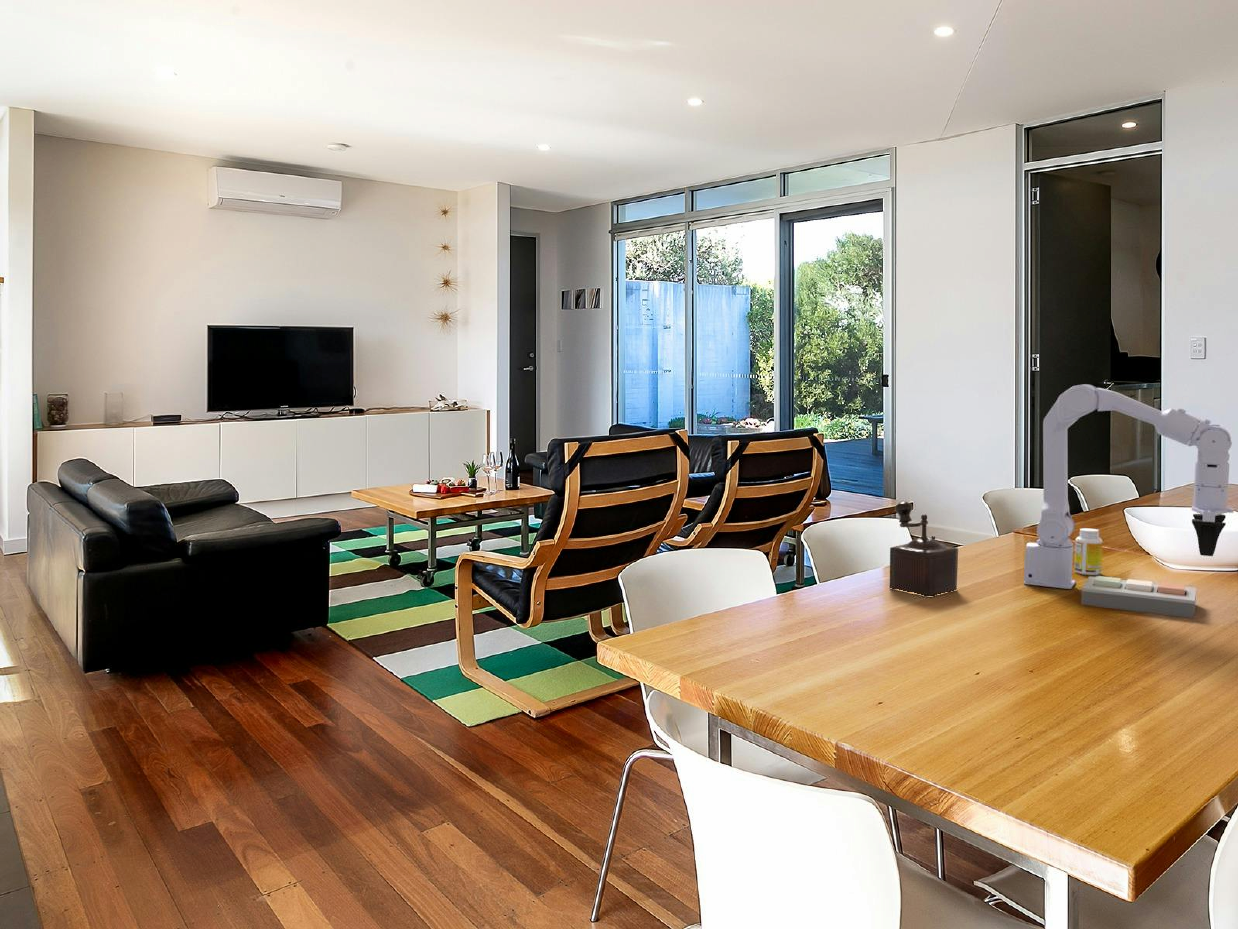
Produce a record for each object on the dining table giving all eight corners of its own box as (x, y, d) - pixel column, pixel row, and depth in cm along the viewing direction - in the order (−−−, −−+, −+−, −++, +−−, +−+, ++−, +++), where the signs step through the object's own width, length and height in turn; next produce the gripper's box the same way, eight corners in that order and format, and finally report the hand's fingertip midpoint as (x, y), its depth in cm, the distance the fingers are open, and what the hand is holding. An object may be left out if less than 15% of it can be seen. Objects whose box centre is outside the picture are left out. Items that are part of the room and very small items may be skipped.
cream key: (1125, 594, 182) (1125, 583, 182) (1127, 589, 185) (1127, 579, 185) (1150, 597, 179) (1151, 586, 179) (1152, 592, 183) (1152, 581, 183)
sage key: (1093, 590, 185) (1094, 580, 185) (1096, 586, 188) (1096, 575, 188) (1118, 593, 182) (1119, 582, 182) (1120, 588, 186) (1121, 578, 186)
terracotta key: (1157, 597, 179) (1158, 586, 178) (1159, 593, 182) (1159, 582, 182) (1184, 600, 176) (1184, 589, 176) (1184, 596, 180) (1185, 585, 180)
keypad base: (1081, 604, 183) (1081, 588, 183) (1088, 592, 193) (1089, 576, 193) (1193, 618, 172) (1194, 600, 172) (1195, 604, 182) (1196, 587, 182)
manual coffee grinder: (960, 590, 195) (963, 507, 193) (929, 598, 189) (931, 512, 187) (900, 577, 208) (902, 499, 206) (868, 584, 201) (870, 504, 199)
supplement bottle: (1105, 573, 210) (1107, 529, 209) (1094, 577, 207) (1096, 532, 206) (1080, 569, 215) (1082, 526, 214) (1069, 572, 211) (1071, 529, 210)
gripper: (1235, 491, 174) (1230, 560, 176) (1234, 483, 186) (1230, 548, 188) (1191, 488, 178) (1187, 556, 179) (1193, 480, 190) (1190, 544, 192)
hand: (1206, 552), depth 184 cm, fingers open, 7 cm apart
